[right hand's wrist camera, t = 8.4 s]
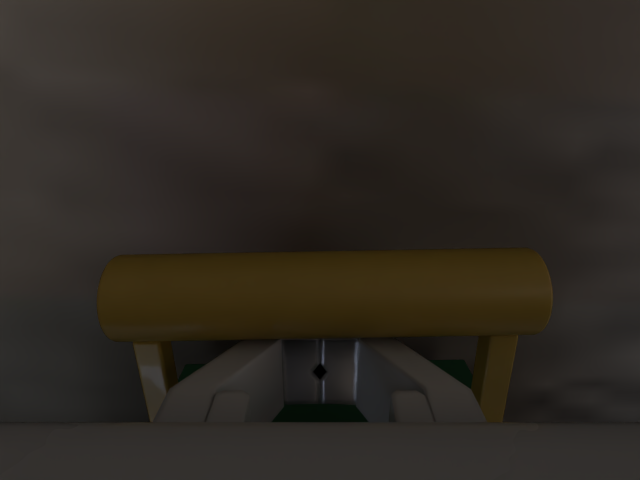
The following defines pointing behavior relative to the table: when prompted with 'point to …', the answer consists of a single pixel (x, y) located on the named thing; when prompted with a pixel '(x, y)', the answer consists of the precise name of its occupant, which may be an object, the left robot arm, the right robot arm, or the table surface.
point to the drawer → (328, 308)
